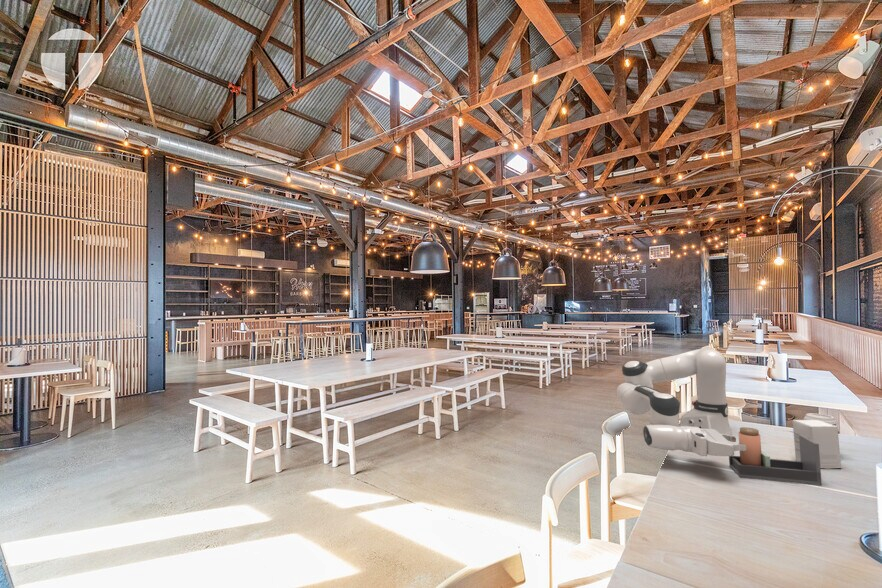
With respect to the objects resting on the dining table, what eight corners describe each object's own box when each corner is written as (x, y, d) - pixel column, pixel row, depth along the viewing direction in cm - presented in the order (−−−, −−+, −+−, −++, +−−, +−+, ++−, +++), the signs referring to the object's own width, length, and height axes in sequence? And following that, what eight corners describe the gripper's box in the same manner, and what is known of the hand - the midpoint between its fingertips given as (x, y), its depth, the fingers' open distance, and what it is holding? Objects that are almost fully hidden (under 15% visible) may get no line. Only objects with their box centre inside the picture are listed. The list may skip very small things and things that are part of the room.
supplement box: (820, 460, 149) (817, 419, 149) (842, 469, 140) (839, 426, 141) (794, 459, 149) (791, 419, 150) (814, 468, 141) (811, 425, 141)
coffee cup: (847, 459, 149) (844, 418, 150) (821, 459, 149) (818, 419, 150) (823, 450, 158) (820, 412, 159) (799, 450, 159) (796, 412, 159)
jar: (738, 470, 138) (735, 429, 139) (743, 465, 142) (741, 426, 143) (759, 475, 133) (756, 433, 134) (765, 470, 137) (762, 429, 138)
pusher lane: (739, 477, 135) (737, 438, 135) (729, 466, 144) (727, 430, 145) (821, 485, 127) (818, 444, 128) (805, 473, 137) (802, 435, 137)
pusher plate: (766, 474, 133) (765, 456, 133) (757, 466, 140) (756, 449, 140) (770, 475, 133) (769, 456, 133) (761, 467, 140) (760, 449, 140)
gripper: (687, 439, 153) (730, 443, 148) (702, 457, 134) (752, 462, 129) (687, 423, 153) (729, 425, 149) (702, 438, 134) (751, 442, 129)
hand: (740, 443), depth 139 cm, fingers open, 8 cm apart
